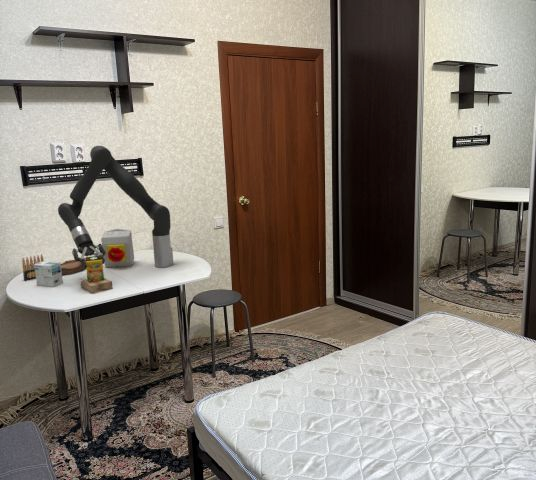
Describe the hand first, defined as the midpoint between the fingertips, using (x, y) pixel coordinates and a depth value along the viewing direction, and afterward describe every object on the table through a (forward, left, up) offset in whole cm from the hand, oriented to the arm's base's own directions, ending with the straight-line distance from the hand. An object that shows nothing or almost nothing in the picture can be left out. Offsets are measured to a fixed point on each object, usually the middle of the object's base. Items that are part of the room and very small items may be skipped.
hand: (94, 265), depth 233 cm
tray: (0, 0, -11) cm, 11 cm away
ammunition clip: (+15, -40, -12) cm, 45 cm away
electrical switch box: (-26, -29, -12) cm, 41 cm away
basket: (-3, -43, -12) cm, 45 cm away
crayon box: (0, -1, -8) cm, 8 cm away
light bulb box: (+13, -24, -12) cm, 30 cm away
